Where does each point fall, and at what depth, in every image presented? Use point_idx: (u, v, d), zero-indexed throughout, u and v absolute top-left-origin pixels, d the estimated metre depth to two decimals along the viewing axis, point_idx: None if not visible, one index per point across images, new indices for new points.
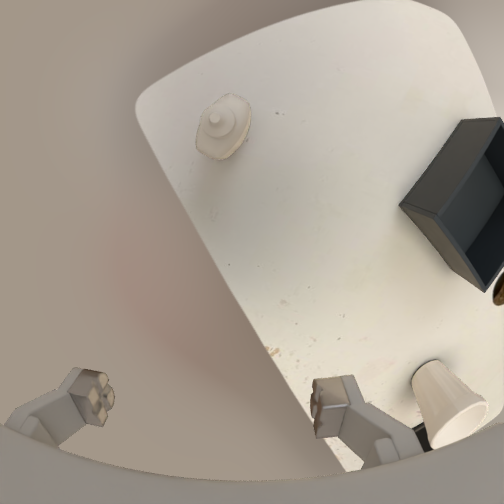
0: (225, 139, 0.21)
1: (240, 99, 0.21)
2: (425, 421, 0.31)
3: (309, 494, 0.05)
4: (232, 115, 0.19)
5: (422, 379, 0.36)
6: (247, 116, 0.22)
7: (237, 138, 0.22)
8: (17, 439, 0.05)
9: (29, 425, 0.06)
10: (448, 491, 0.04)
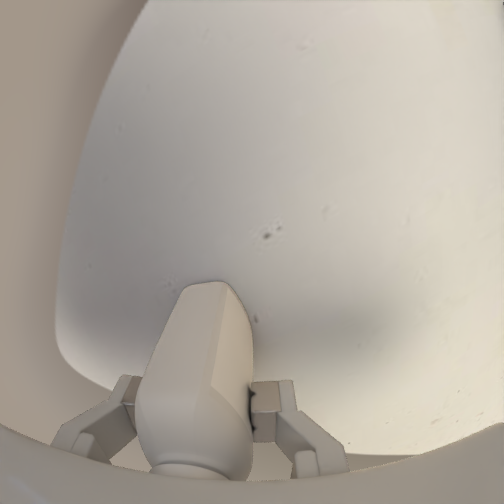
0: None
1: (174, 405, 0.07)
2: None
3: (309, 494, 0.05)
4: None
5: None
6: (227, 421, 0.07)
7: (249, 459, 0.07)
8: (17, 439, 0.05)
9: (83, 443, 0.06)
10: (448, 491, 0.04)
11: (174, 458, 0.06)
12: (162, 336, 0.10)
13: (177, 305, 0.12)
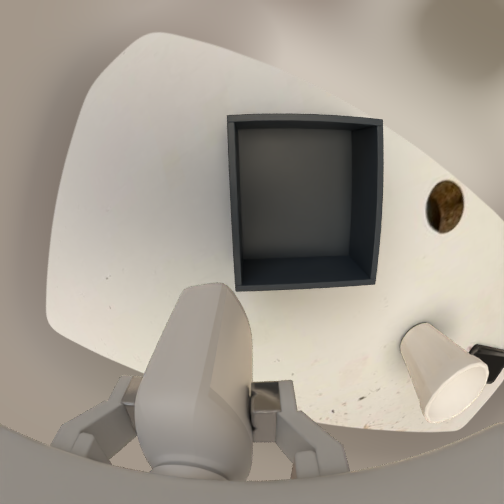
0: None
1: (174, 407, 0.07)
2: None
3: (309, 494, 0.05)
4: None
5: (405, 356, 0.36)
6: (226, 422, 0.07)
7: (248, 460, 0.07)
8: (17, 439, 0.05)
9: (83, 443, 0.06)
10: (448, 491, 0.04)
11: (173, 460, 0.06)
12: (162, 338, 0.10)
13: (176, 306, 0.12)
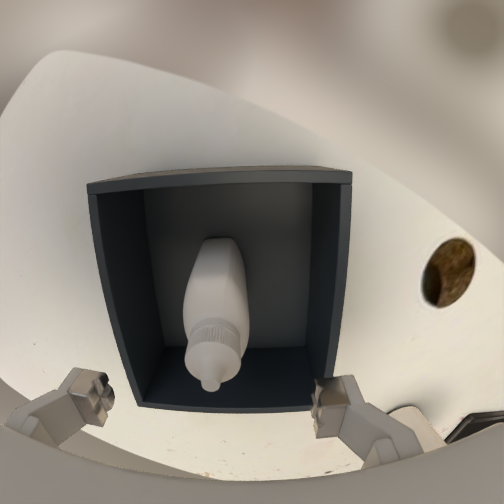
0: None
1: (214, 282, 0.14)
2: None
3: (309, 494, 0.05)
4: (227, 349, 0.12)
5: None
6: (240, 296, 0.14)
7: (248, 330, 0.15)
8: (17, 439, 0.05)
9: (30, 425, 0.06)
10: (448, 492, 0.04)
11: (209, 317, 0.14)
12: (199, 258, 0.17)
13: (203, 246, 0.19)
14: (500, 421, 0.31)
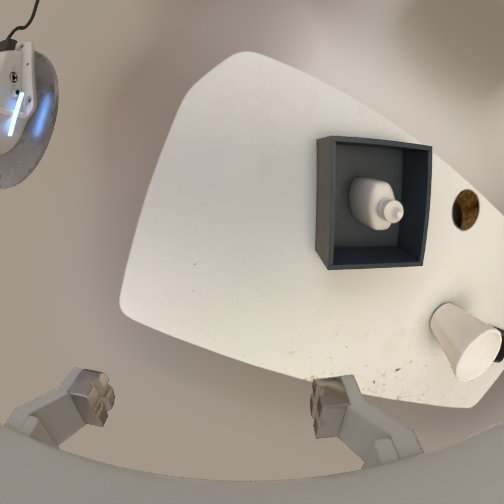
0: None
1: (385, 184, 0.30)
2: None
3: (309, 494, 0.05)
4: (400, 204, 0.28)
5: (435, 329, 0.43)
6: (392, 192, 0.31)
7: None
8: (17, 439, 0.05)
9: (29, 425, 0.06)
10: (448, 491, 0.04)
11: (384, 198, 0.30)
12: (366, 180, 0.33)
13: (360, 178, 0.35)
14: None
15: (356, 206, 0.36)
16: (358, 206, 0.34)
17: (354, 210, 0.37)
